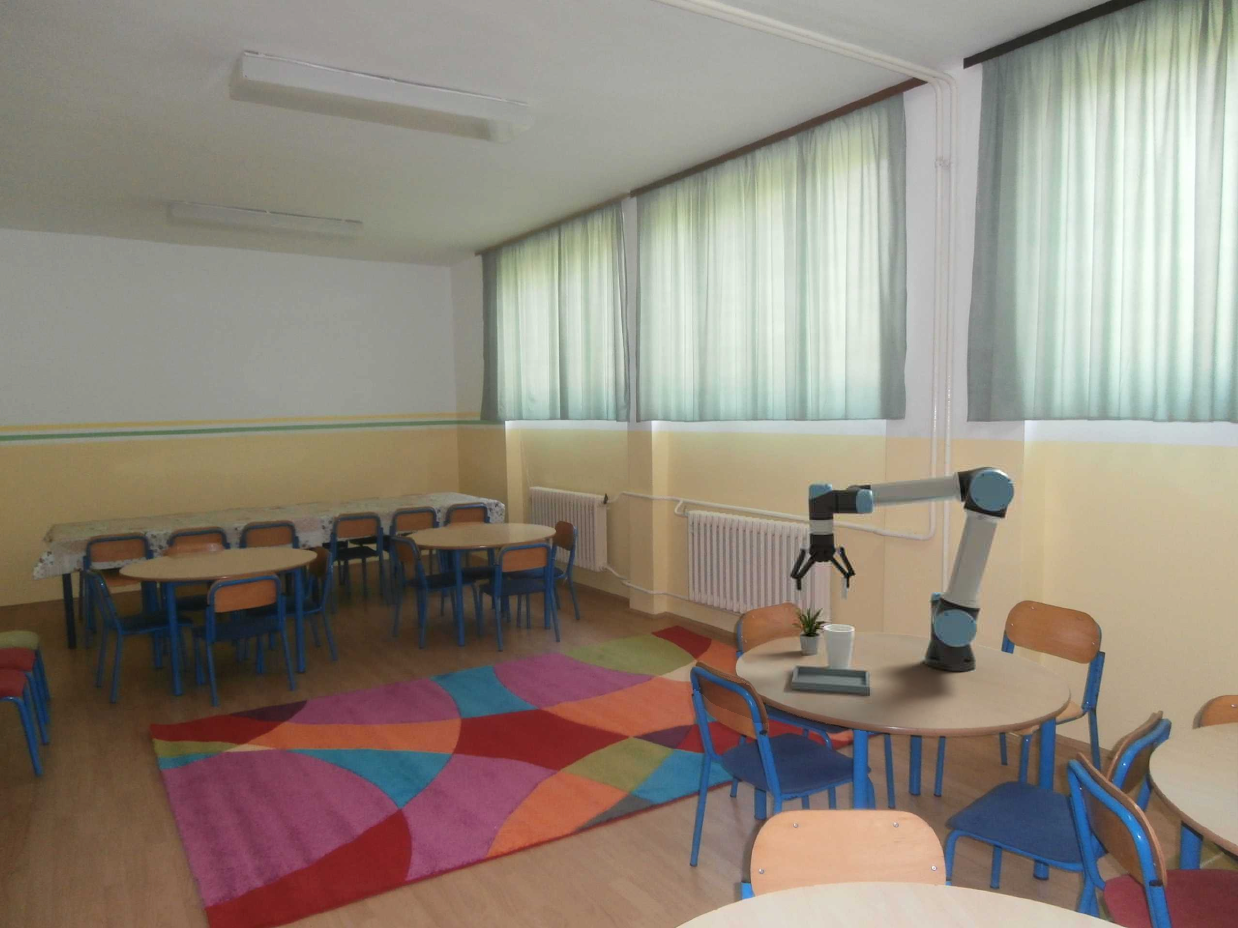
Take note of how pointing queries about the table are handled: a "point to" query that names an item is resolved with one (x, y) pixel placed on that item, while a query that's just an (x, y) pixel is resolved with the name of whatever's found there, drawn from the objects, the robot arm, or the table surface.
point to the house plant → (809, 632)
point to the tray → (831, 680)
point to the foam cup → (839, 645)
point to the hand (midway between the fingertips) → (823, 599)
